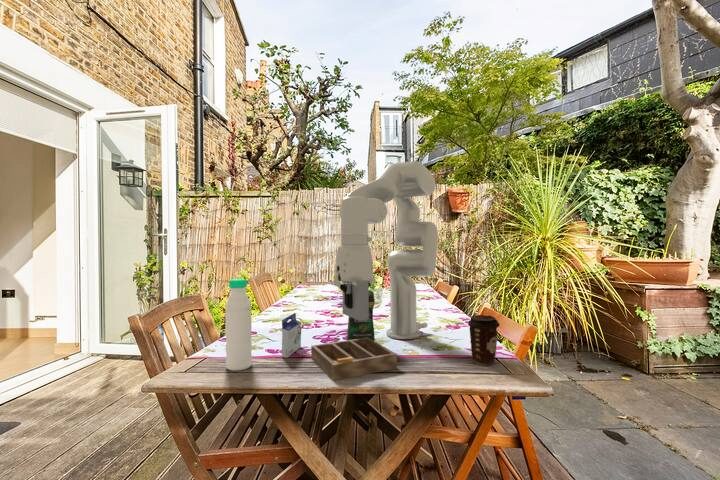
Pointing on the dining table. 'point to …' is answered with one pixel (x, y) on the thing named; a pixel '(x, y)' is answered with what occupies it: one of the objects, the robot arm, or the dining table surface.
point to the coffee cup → (483, 338)
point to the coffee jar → (362, 324)
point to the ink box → (290, 335)
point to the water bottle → (238, 327)
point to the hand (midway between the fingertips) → (354, 306)
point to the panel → (358, 301)
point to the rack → (363, 349)
